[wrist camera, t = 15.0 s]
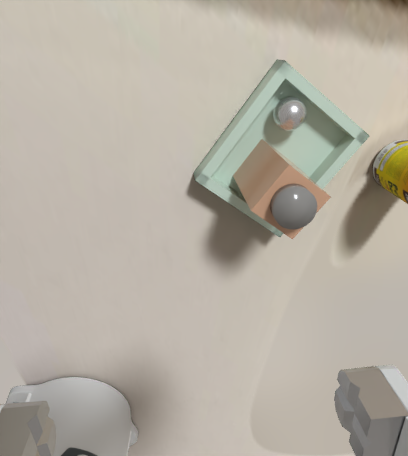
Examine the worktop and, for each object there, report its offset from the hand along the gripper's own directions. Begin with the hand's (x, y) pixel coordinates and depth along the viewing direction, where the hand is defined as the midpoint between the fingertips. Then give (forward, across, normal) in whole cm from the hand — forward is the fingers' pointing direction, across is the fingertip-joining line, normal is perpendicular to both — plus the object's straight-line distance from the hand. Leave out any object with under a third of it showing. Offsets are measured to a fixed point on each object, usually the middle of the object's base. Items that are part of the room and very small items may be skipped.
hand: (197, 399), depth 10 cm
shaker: (+28, -9, +3) cm, 30 cm away
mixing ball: (+28, -11, -3) cm, 31 cm away
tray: (+29, -10, +1) cm, 31 cm away
